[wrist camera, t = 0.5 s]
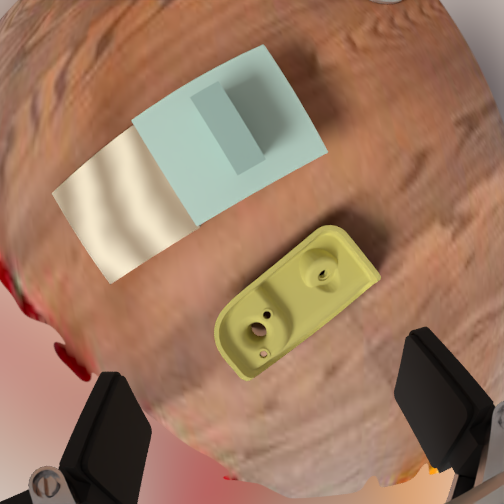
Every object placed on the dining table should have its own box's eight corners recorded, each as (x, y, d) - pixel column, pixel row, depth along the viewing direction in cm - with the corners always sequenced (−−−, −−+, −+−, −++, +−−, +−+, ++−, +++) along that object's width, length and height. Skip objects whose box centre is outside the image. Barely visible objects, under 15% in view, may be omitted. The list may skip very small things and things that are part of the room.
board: (138, 124, 30) (135, 123, 29) (201, 225, 34) (200, 227, 33) (56, 192, 31) (51, 193, 30) (113, 281, 36) (110, 284, 35)
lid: (261, 50, 24) (269, 25, 18) (322, 152, 27) (345, 152, 21) (137, 122, 25) (112, 115, 19) (199, 222, 29) (189, 240, 23)
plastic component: (332, 215, 32) (388, 285, 31) (327, 226, 40) (373, 283, 38) (198, 325, 34) (251, 391, 33) (216, 317, 41) (260, 371, 40)
